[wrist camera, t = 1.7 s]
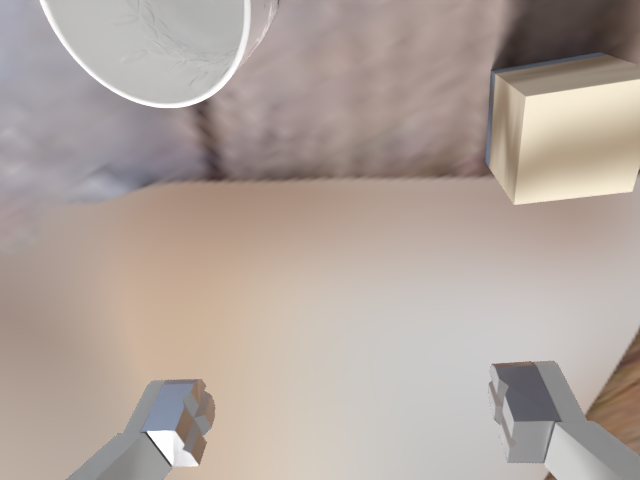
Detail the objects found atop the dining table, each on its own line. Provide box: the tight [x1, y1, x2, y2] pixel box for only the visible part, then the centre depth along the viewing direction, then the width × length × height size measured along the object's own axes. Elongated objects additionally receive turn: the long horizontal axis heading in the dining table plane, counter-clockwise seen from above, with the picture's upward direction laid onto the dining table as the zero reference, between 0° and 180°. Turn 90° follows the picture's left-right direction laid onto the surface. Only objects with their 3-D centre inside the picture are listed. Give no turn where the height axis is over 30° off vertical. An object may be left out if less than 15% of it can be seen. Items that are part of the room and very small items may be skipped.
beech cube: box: [486, 52, 640, 205], centre depth 22 cm, size 6×6×6 cm
